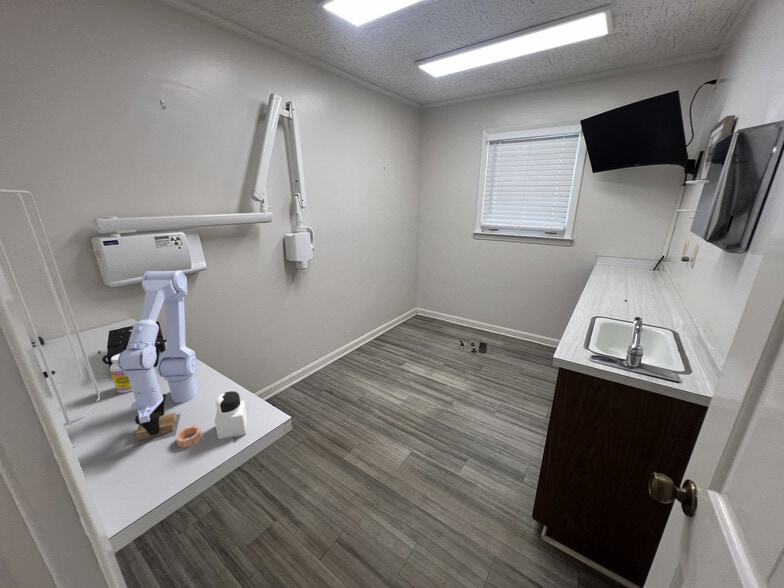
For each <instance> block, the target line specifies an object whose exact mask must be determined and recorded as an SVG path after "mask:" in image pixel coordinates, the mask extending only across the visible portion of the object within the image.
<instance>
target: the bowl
mask: <svg viewBox="0 0 784 588" xmlns="http://www.w3.org/2000/svg"><path fill="white" fill-rule="evenodd" d="M193 434H194V435H193ZM191 435H192V436H191ZM187 436H191V437H187ZM202 436H203V434H202V429H201V427H200V426H198V425H191V426H187V427H185V428H182V429H181V430H180V431H178V433H176V437H175V441H176V444H177V446H178V447H180V448H182V449H185V448H188V447H192V446H194V445H196V444H197V443H198V442H199V441H201V440H202ZM186 437H187V438H186Z"/></svg>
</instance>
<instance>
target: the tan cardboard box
mask: <svg viewBox="0 0 784 588" xmlns="http://www.w3.org/2000/svg"><path fill="white" fill-rule="evenodd" d="M176 415H177V414H176V411H175V412H171V413H167V414H164V415H162V416H160V417H159V426H160V431H159V434H155V435H152V436H150V435H149V433H148V432H147V431H146V430H145V429H144V428H143V427H142V426H141V425H139V424H138V426H137V429H136V431H135V438H136V437H137V440H141V439H145V438H149V437H153V436H156V435H160V434H164V433H168V432H172V431H174V428H175V424H176V420H177V418H176Z"/></svg>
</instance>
